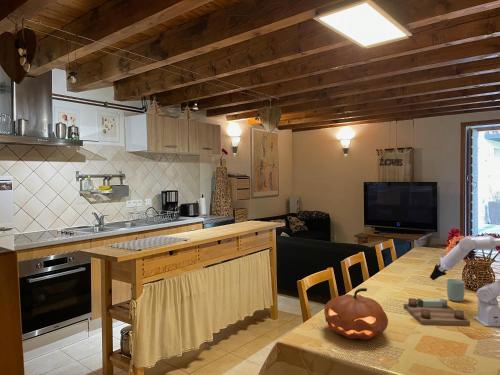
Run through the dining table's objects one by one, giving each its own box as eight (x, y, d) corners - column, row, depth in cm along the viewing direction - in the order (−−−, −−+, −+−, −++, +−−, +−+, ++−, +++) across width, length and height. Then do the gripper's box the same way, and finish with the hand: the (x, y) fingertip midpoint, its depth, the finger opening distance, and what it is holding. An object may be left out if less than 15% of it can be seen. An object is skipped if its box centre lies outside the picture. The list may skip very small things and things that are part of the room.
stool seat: (470, 325, 153) (470, 314, 152) (421, 324, 154) (421, 313, 153) (446, 308, 173) (446, 298, 172) (403, 307, 174) (403, 297, 173)
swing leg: (445, 305, 171) (445, 299, 171) (448, 307, 168) (448, 301, 168) (416, 304, 172) (417, 298, 172) (419, 306, 169) (419, 300, 169)
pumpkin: (313, 338, 141) (313, 289, 140) (334, 316, 162) (334, 274, 162) (380, 354, 128) (381, 301, 127) (393, 328, 149) (394, 283, 149)
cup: (466, 303, 179) (467, 283, 179) (449, 302, 181) (450, 282, 181) (461, 298, 187) (461, 279, 187) (444, 297, 189) (444, 278, 188)
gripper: (450, 247, 174) (431, 265, 180) (442, 254, 163) (422, 274, 170) (463, 258, 170) (443, 276, 177) (455, 266, 160) (434, 285, 166)
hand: (433, 276), depth 173 cm, fingers open, 7 cm apart
